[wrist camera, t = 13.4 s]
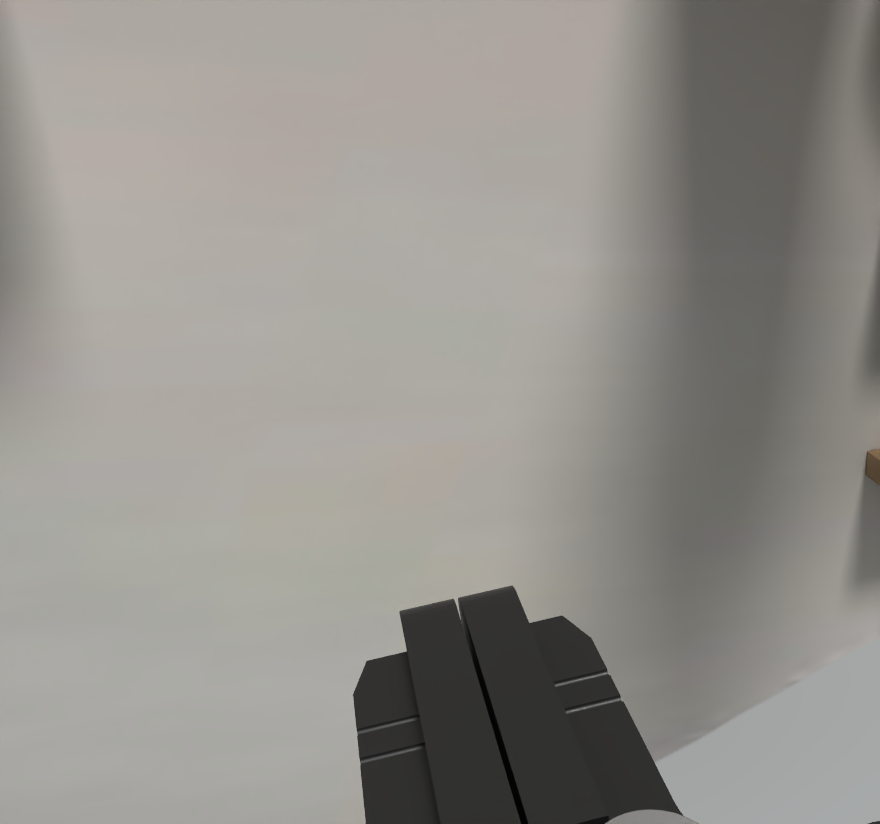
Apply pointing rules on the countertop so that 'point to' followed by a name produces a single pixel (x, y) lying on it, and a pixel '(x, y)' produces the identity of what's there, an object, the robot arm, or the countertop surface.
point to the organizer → (873, 465)
